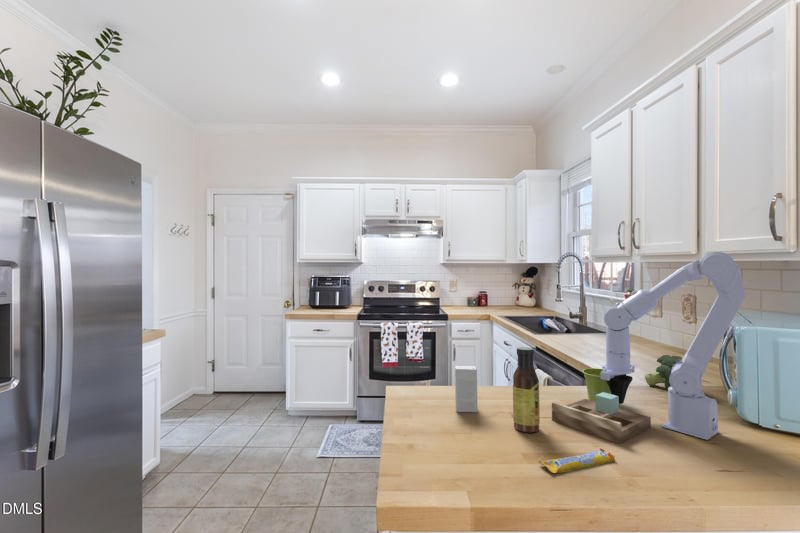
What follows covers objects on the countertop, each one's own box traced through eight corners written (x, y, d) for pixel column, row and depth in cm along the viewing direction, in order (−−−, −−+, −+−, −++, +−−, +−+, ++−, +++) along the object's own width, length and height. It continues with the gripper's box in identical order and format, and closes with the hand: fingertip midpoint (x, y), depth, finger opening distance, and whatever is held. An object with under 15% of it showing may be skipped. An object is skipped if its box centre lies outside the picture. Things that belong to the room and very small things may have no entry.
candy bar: (601, 454, 83) (601, 445, 83) (618, 463, 79) (618, 454, 79) (537, 467, 78) (537, 458, 78) (551, 478, 74) (551, 468, 74)
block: (618, 411, 100) (618, 396, 100) (610, 414, 98) (610, 399, 98) (603, 407, 103) (603, 392, 103) (595, 410, 101) (595, 394, 101)
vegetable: (659, 374, 137) (704, 363, 125) (661, 407, 129) (708, 398, 117) (634, 355, 135) (677, 343, 124) (634, 387, 127) (680, 377, 116)
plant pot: (624, 406, 111) (624, 376, 111) (591, 406, 111) (591, 376, 111) (607, 396, 120) (607, 368, 120) (577, 395, 120) (576, 368, 121)
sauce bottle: (541, 435, 92) (540, 351, 92) (514, 432, 93) (513, 350, 93) (537, 424, 98) (536, 346, 98) (512, 422, 100) (511, 345, 100)
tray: (650, 427, 96) (650, 409, 96) (619, 443, 87) (619, 423, 87) (585, 407, 110) (585, 391, 110) (551, 420, 101) (551, 402, 101)
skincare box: (476, 407, 111) (475, 365, 111) (477, 412, 106) (477, 369, 106) (454, 406, 111) (454, 365, 111) (455, 412, 107) (455, 369, 107)
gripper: (616, 346, 112) (616, 393, 112) (589, 352, 103) (589, 403, 103) (642, 350, 106) (643, 400, 106) (616, 357, 98) (616, 411, 97)
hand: (618, 402), depth 104 cm, fingers closed
